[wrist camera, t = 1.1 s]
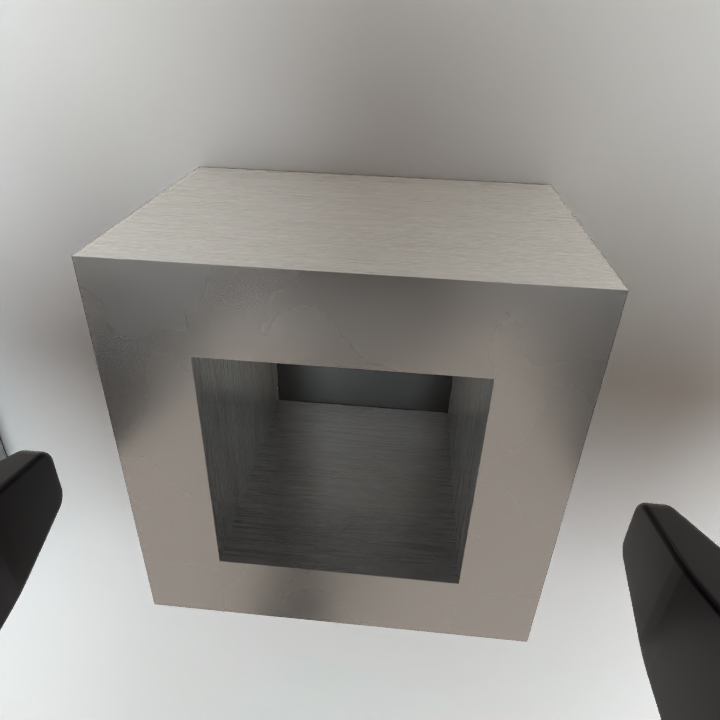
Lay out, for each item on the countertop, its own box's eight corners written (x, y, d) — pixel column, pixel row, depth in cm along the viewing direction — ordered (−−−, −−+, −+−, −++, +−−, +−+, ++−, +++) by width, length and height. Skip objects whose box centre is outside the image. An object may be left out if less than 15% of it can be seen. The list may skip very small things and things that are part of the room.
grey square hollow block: (497, 461, 15) (527, 642, 11) (229, 439, 15) (154, 603, 11) (550, 185, 11) (628, 289, 7) (198, 166, 12) (71, 256, 8)
